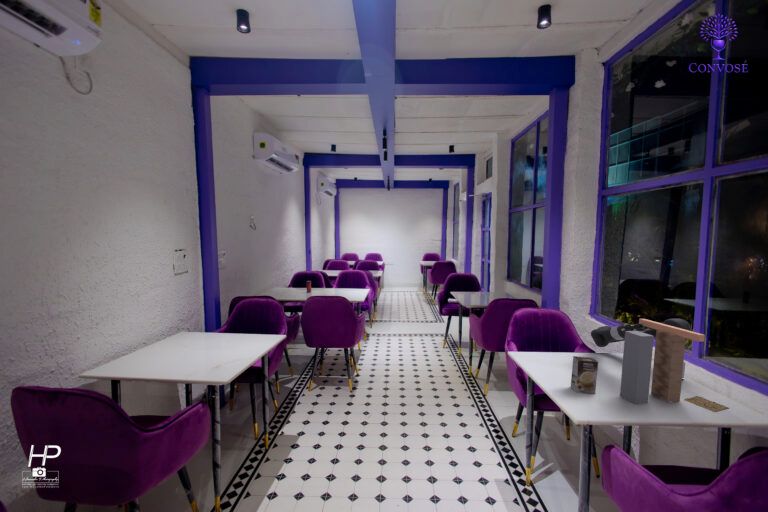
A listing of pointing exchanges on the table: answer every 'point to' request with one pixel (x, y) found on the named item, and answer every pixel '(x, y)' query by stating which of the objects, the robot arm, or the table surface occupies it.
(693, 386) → the table surface
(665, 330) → the bar
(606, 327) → the robot arm
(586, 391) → the coffee box
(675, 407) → the table surface
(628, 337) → the grey stand
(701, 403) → the sandy brown tile
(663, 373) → the walnut stand
